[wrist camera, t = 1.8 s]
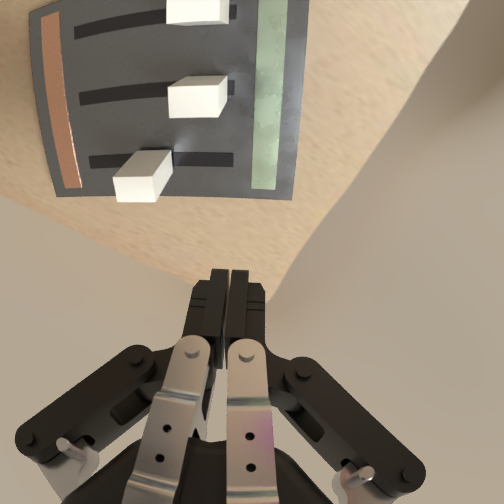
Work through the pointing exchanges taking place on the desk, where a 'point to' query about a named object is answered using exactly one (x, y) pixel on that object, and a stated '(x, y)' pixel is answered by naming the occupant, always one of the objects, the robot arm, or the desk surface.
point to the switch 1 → (143, 176)
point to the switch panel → (156, 95)
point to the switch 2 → (197, 12)
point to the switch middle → (197, 97)
